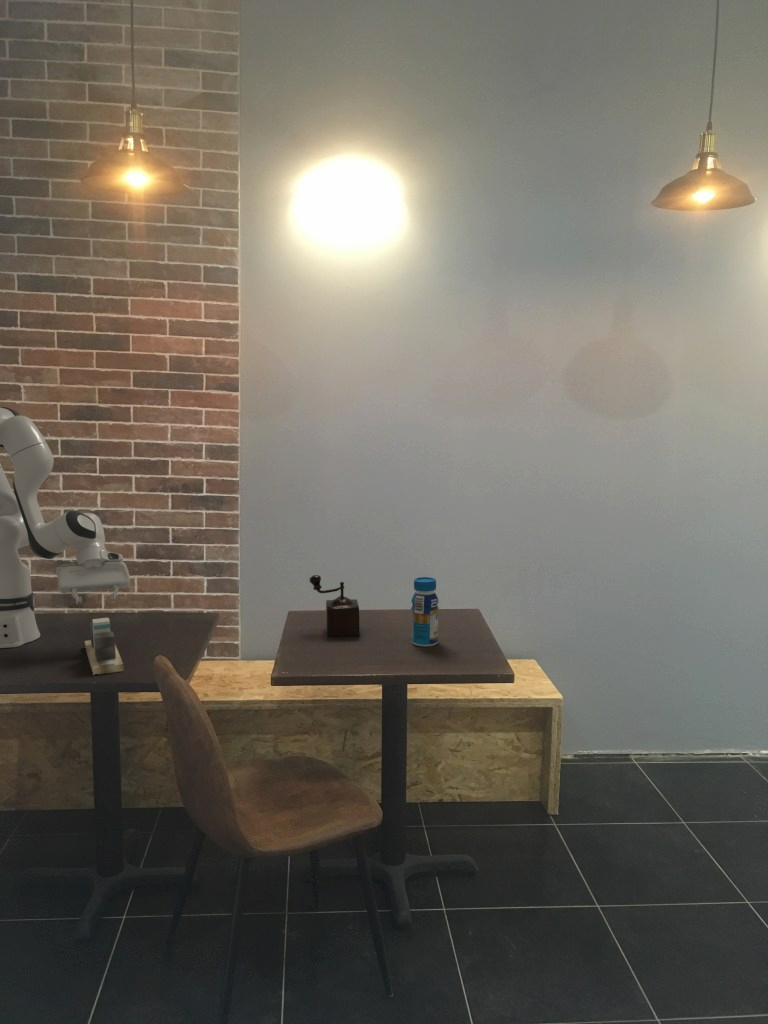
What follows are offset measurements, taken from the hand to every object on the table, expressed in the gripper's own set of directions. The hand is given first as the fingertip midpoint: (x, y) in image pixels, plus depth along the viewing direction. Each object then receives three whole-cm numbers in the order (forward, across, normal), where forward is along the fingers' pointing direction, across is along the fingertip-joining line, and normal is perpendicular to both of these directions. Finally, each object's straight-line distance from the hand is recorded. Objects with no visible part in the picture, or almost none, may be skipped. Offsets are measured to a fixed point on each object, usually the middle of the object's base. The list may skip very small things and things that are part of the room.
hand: (96, 601), depth 242 cm
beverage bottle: (+32, +92, -14) cm, 98 cm away
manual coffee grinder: (+18, +71, +2) cm, 73 cm away
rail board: (+16, +1, +6) cm, 17 cm away
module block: (+14, +1, +4) cm, 15 cm away
